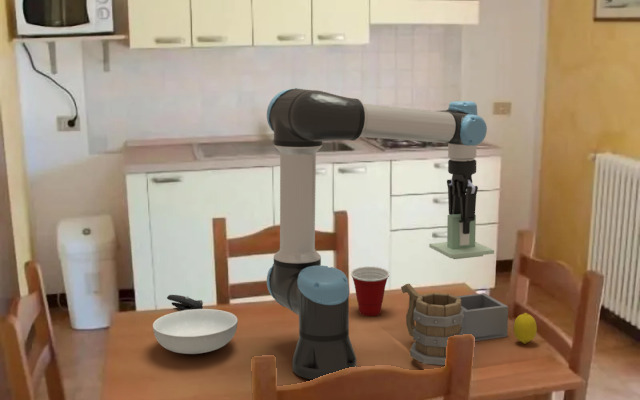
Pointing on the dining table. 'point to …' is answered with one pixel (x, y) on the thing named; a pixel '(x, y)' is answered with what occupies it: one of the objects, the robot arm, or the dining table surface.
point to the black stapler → (185, 302)
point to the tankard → (432, 324)
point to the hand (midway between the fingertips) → (461, 243)
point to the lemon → (525, 328)
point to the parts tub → (484, 317)
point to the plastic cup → (370, 288)
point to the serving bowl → (195, 330)
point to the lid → (452, 244)
